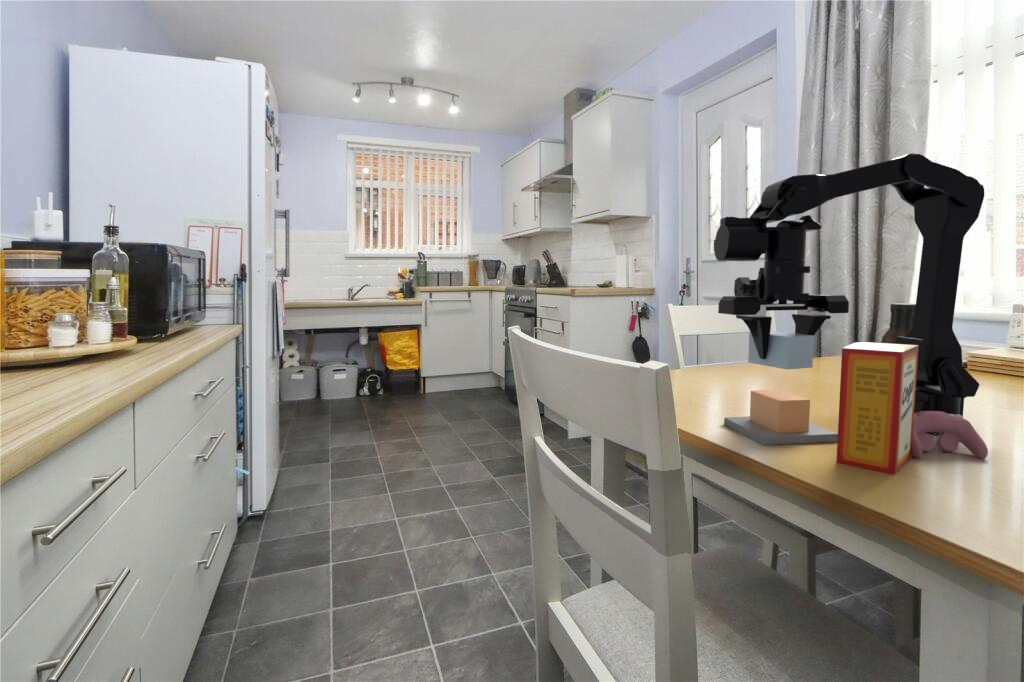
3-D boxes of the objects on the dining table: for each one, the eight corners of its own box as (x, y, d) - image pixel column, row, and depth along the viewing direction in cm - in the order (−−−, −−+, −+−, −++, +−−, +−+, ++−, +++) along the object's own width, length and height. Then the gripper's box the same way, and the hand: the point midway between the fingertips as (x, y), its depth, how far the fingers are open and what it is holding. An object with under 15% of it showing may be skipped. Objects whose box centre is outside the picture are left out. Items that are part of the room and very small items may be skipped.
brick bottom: (777, 418, 90) (778, 389, 90) (808, 431, 82) (810, 399, 82) (749, 419, 90) (750, 390, 89) (778, 432, 82) (779, 400, 81)
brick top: (771, 360, 90) (773, 331, 89) (812, 367, 82) (813, 335, 82) (748, 362, 88) (749, 332, 87) (787, 369, 80) (788, 336, 80)
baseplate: (789, 421, 92) (790, 414, 92) (838, 441, 81) (838, 433, 80) (724, 424, 91) (724, 417, 91) (763, 445, 79) (763, 437, 79)
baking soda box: (856, 447, 78) (862, 339, 76) (911, 457, 73) (918, 342, 71) (836, 462, 71) (842, 345, 70) (894, 474, 67) (902, 349, 65)
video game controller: (969, 462, 75) (956, 414, 78) (994, 457, 71) (979, 406, 73) (896, 461, 76) (885, 413, 78) (916, 456, 72) (904, 406, 74)
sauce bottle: (869, 406, 102) (875, 303, 100) (882, 401, 106) (887, 302, 104) (909, 412, 97) (916, 304, 95) (920, 407, 101) (927, 303, 99)
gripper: (807, 262, 92) (803, 351, 94) (704, 263, 90) (701, 353, 92) (854, 259, 81) (848, 359, 83) (737, 260, 79) (734, 363, 81)
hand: (780, 358), depth 85 cm, fingers closed on brick top, 6 cm apart
